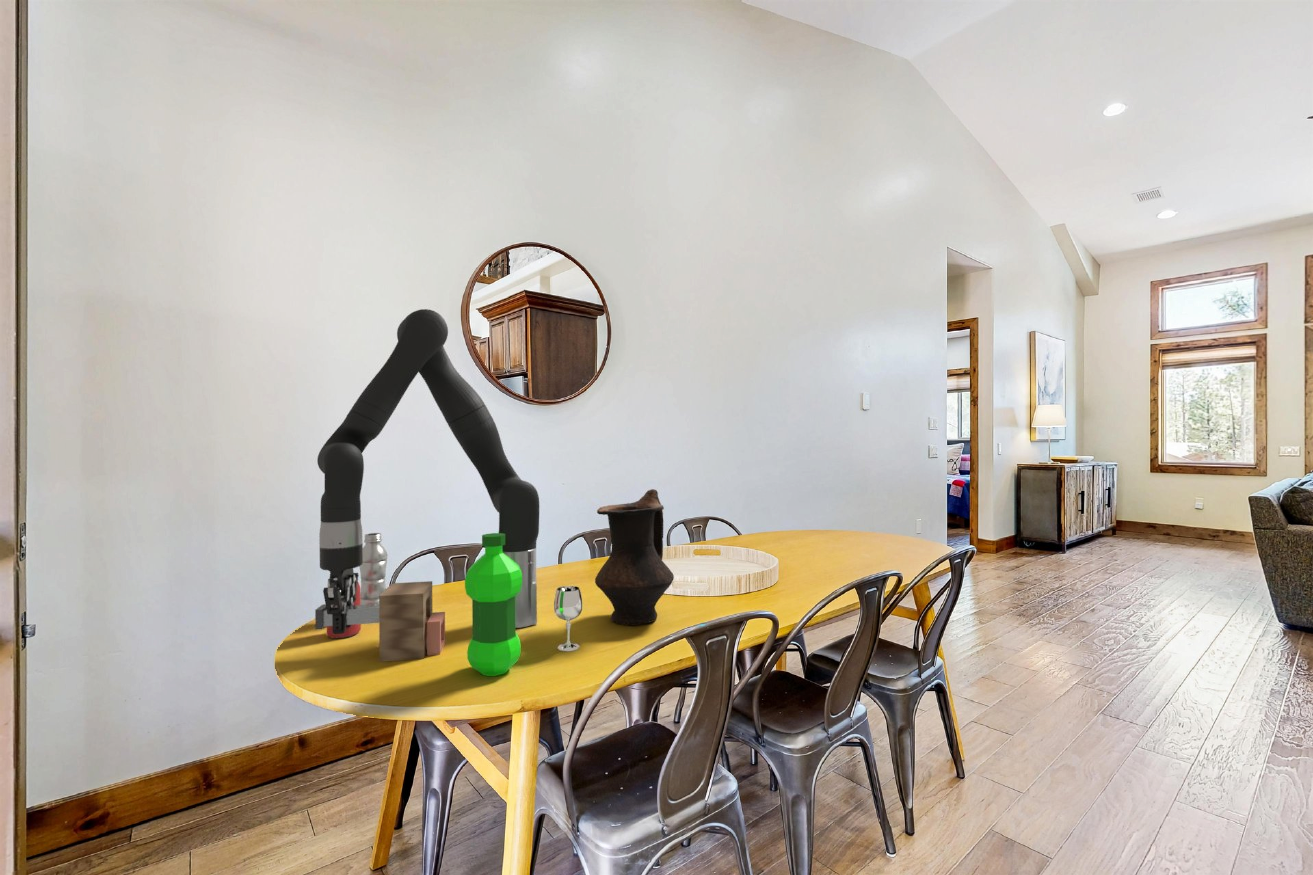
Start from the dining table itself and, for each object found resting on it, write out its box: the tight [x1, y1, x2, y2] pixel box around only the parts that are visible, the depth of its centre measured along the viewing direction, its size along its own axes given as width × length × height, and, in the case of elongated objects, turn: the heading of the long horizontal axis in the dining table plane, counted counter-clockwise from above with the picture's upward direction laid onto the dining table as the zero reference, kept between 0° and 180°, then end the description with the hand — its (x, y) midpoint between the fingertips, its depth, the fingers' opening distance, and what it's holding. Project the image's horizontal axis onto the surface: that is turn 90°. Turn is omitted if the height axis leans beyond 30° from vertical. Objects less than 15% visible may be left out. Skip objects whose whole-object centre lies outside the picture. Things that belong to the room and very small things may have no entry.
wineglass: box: [553, 585, 583, 652], centre depth 120 cm, size 6×6×12 cm
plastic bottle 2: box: [464, 532, 522, 677], centre depth 108 cm, size 10×10×25 cm
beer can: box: [326, 582, 362, 639], centre depth 129 cm, size 7×7×12 cm
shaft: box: [314, 604, 379, 630], centre depth 117 cm, size 18×4×4 cm, turn 101°
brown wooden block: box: [378, 580, 433, 663], centre depth 118 cm, size 8×10×13 cm
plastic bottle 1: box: [359, 532, 388, 605], centre depth 141 cm, size 6×7×20 cm
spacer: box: [426, 611, 446, 656], centre depth 119 cm, size 2×7×7 cm, turn 12°
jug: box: [594, 488, 675, 626], centre depth 139 cm, size 21×18×30 cm
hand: (342, 629), depth 116 cm, fingers closed on shaft, 3 cm apart
